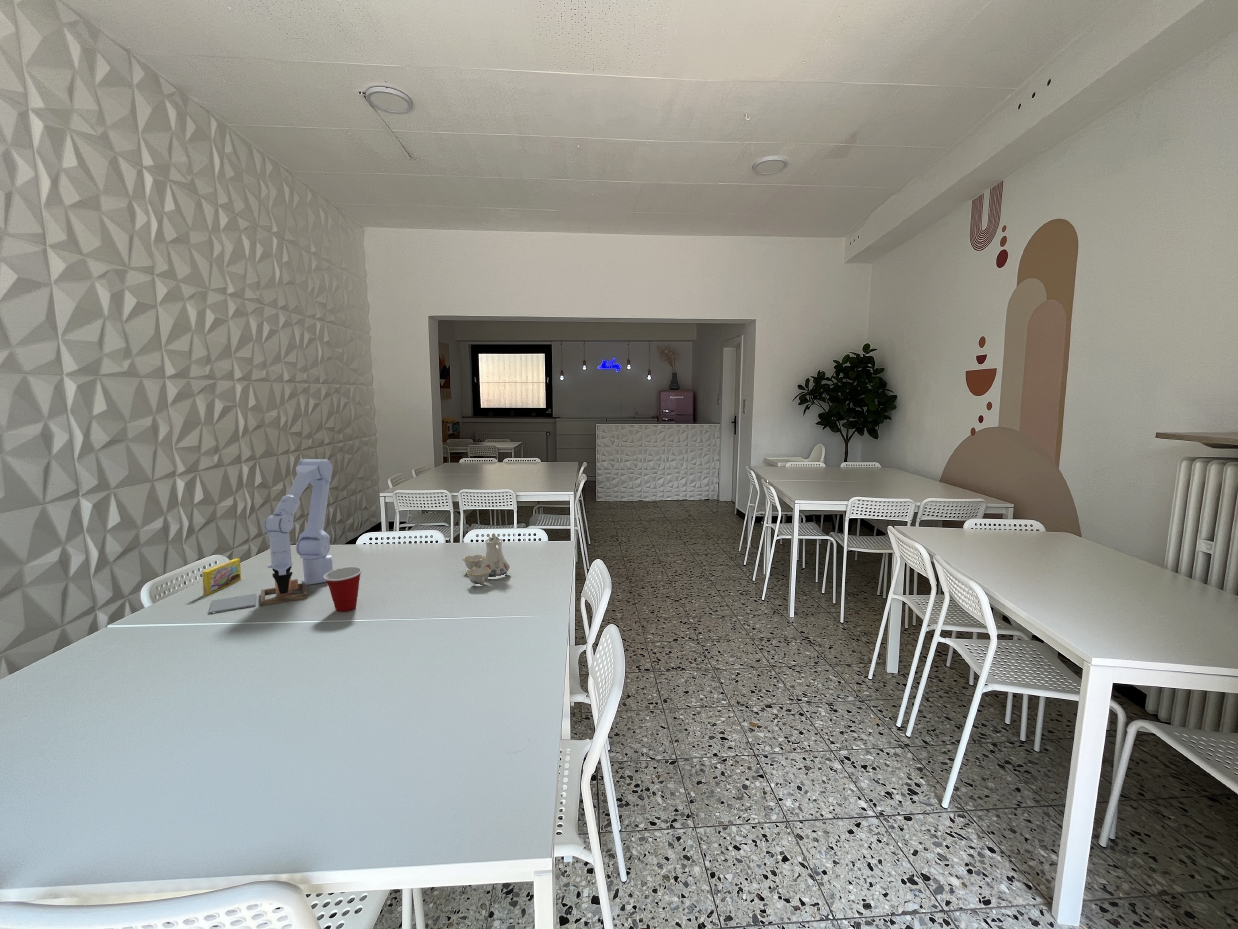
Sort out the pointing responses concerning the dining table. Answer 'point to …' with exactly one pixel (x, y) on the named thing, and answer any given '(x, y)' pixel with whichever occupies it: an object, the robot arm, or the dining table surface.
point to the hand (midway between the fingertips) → (283, 590)
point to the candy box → (221, 576)
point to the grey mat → (233, 603)
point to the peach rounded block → (292, 586)
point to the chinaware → (487, 562)
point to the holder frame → (282, 599)
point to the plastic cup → (344, 587)
